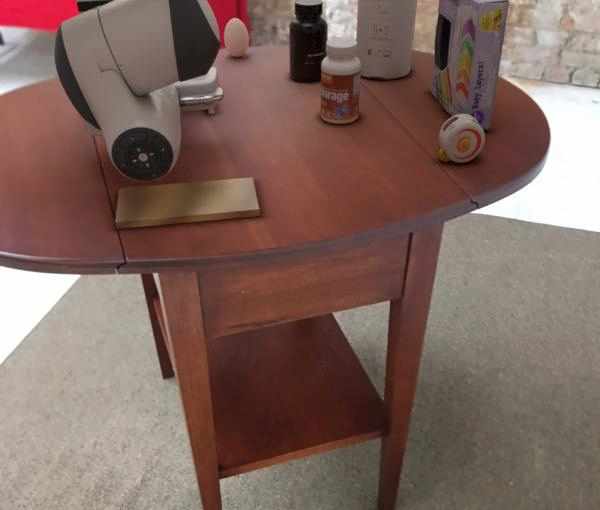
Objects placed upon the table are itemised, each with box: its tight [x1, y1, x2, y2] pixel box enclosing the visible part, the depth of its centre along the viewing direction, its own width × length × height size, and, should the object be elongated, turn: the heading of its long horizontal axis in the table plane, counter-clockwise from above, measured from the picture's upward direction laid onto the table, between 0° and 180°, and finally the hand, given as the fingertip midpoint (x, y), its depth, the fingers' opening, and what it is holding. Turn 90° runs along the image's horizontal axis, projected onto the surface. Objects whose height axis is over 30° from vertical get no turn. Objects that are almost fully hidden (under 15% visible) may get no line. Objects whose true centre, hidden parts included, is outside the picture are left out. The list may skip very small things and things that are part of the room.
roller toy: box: [438, 114, 486, 164], centre depth 89 cm, size 4×6×6 cm
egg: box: [223, 17, 250, 58], centre depth 123 cm, size 5×5×7 cm
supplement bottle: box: [288, 0, 329, 83], centre depth 112 cm, size 7×7×12 cm
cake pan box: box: [430, 0, 510, 132], centre depth 98 cm, size 19×5×18 cm, turn 7°
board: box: [114, 176, 261, 230], centre depth 83 cm, size 18×9×1 cm, turn 98°
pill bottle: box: [320, 37, 362, 125], centre depth 99 cm, size 6×6×11 cm
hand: (148, 71), depth 93 cm, fingers closed on ink box, 5 cm apart
